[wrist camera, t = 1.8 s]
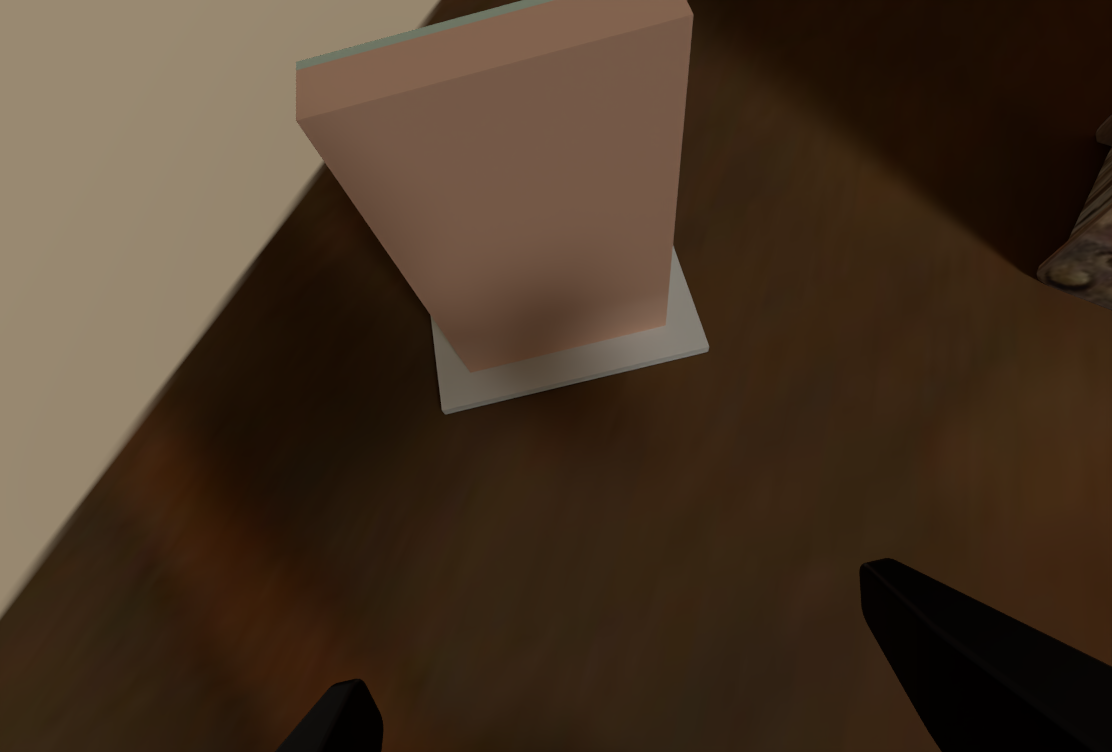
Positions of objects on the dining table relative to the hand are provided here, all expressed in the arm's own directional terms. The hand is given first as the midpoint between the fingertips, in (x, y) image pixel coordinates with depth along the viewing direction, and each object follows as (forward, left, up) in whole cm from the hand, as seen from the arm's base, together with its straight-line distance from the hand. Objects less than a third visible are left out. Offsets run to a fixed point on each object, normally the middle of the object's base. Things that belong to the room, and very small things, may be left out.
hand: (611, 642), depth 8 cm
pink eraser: (+3, -12, -13) cm, 18 cm away
